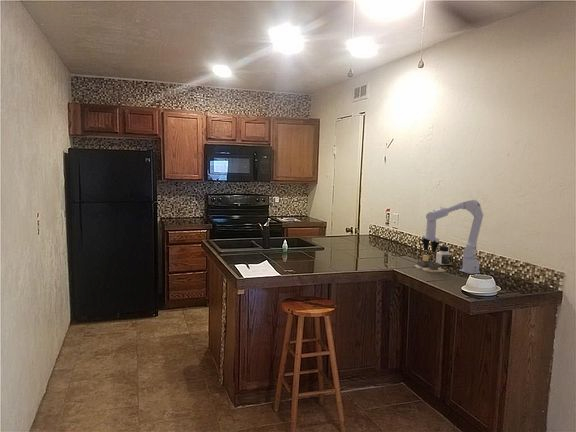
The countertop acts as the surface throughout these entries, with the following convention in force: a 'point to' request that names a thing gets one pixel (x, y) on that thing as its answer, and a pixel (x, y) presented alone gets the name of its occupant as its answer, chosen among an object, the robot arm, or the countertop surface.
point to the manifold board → (428, 266)
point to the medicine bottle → (443, 256)
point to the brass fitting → (425, 258)
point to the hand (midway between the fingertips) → (429, 251)
